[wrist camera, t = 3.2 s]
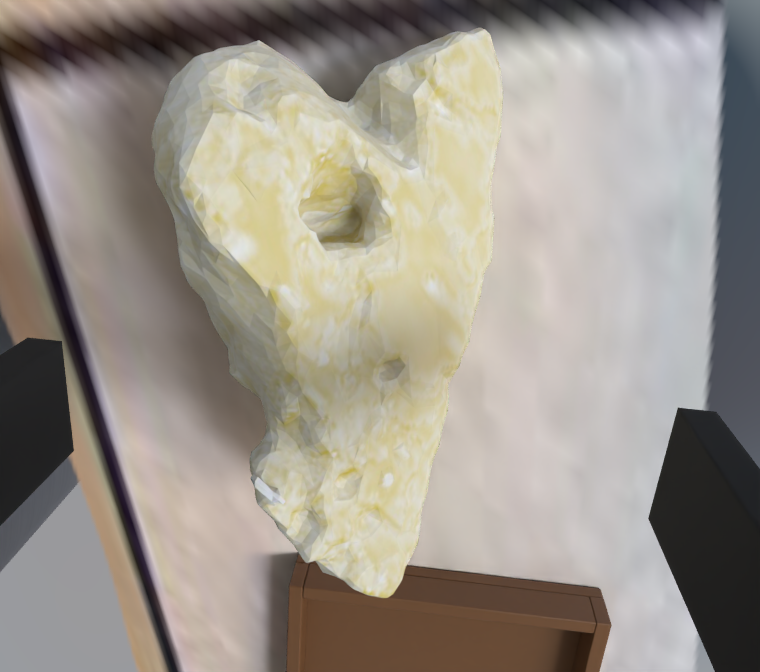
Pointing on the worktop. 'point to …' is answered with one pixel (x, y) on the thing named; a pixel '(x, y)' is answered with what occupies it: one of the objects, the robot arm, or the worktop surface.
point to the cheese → (338, 272)
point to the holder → (443, 624)
